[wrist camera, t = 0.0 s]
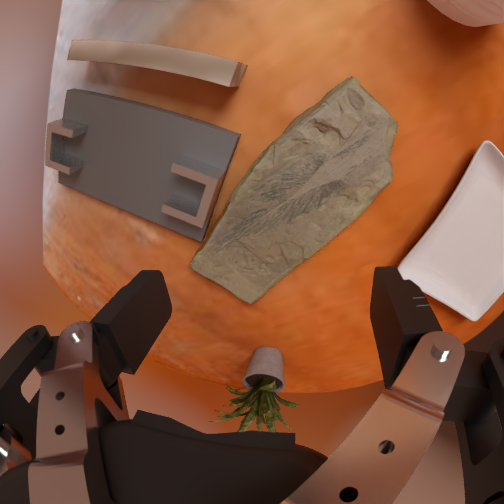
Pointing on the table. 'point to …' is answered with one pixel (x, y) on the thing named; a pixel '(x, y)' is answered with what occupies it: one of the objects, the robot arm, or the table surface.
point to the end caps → (182, 166)
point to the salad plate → (465, 241)
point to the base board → (141, 155)
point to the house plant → (260, 391)
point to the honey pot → (472, 11)
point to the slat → (160, 59)
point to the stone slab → (301, 192)
